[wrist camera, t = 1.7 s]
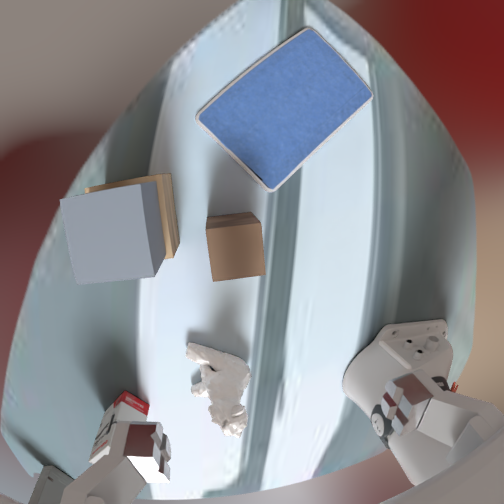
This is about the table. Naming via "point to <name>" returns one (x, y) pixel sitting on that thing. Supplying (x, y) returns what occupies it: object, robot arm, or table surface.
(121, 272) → the slate block
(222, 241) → the walnut block
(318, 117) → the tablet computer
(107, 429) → the ink box
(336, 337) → the table surface
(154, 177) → the oak block
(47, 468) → the skincare box
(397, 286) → the table surface
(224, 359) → the seated beast figurine
